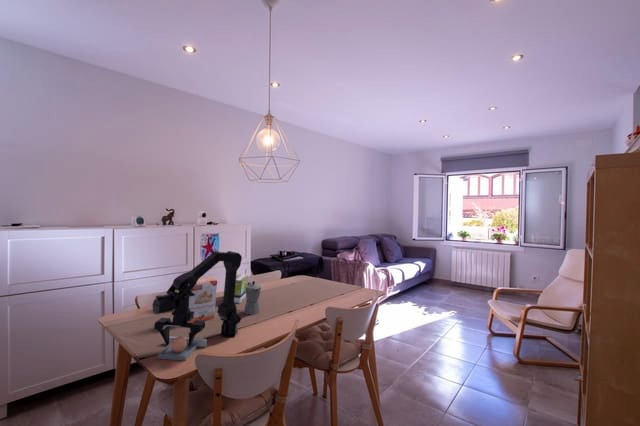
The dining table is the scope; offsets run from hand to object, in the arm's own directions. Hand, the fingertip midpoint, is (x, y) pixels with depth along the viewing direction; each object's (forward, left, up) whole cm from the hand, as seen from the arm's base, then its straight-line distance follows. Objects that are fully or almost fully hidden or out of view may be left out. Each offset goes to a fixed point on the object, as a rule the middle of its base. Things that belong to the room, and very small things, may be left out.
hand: (178, 345), depth 122 cm
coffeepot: (-18, -51, -3) cm, 54 cm away
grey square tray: (0, 0, -3) cm, 3 cm away
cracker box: (+5, -34, -3) cm, 35 cm away
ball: (0, 0, -3) cm, 3 cm away
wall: (0, -6, -3) cm, 7 cm away
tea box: (-4, -70, -3) cm, 70 cm away
